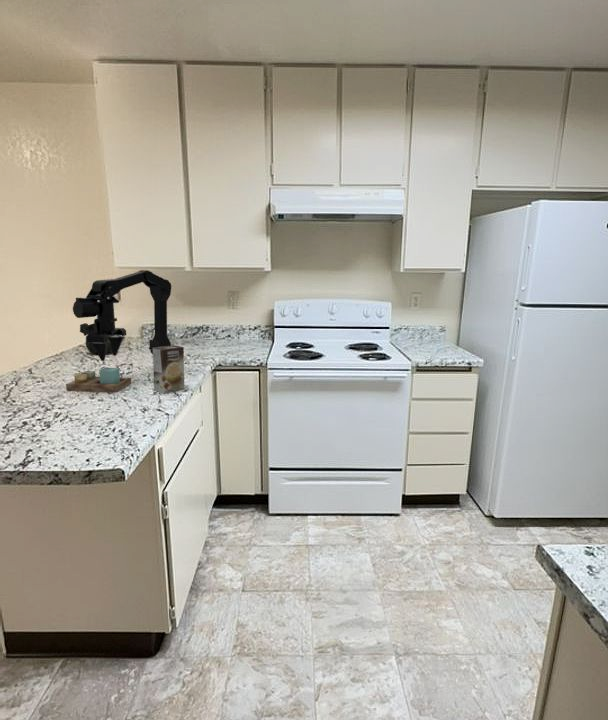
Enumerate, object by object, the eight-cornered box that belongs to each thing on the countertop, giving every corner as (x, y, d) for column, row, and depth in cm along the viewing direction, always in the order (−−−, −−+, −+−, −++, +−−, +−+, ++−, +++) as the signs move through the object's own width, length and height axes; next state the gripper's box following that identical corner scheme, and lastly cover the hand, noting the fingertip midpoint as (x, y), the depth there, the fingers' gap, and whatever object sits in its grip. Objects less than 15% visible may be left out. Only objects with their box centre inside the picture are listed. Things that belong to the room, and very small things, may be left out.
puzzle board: (131, 383, 156) (130, 371, 155) (116, 392, 145) (115, 379, 144) (85, 382, 157) (83, 369, 156) (66, 390, 145) (65, 377, 144)
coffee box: (163, 394, 145) (161, 349, 141) (153, 390, 149) (151, 347, 145) (185, 389, 152) (184, 346, 148) (175, 385, 156) (173, 344, 152)
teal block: (120, 383, 153) (119, 367, 152) (113, 387, 148) (112, 371, 147) (107, 382, 153) (106, 367, 152) (100, 386, 148) (99, 370, 147)
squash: (89, 347, 198) (107, 322, 204) (75, 344, 207) (92, 321, 213) (111, 362, 208) (128, 339, 214) (97, 359, 217) (113, 337, 223)
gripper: (96, 312, 155) (99, 352, 159) (68, 317, 137) (72, 362, 140) (125, 313, 155) (128, 353, 159) (101, 318, 137) (104, 363, 140)
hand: (108, 358), depth 149 cm, fingers open, 9 cm apart
